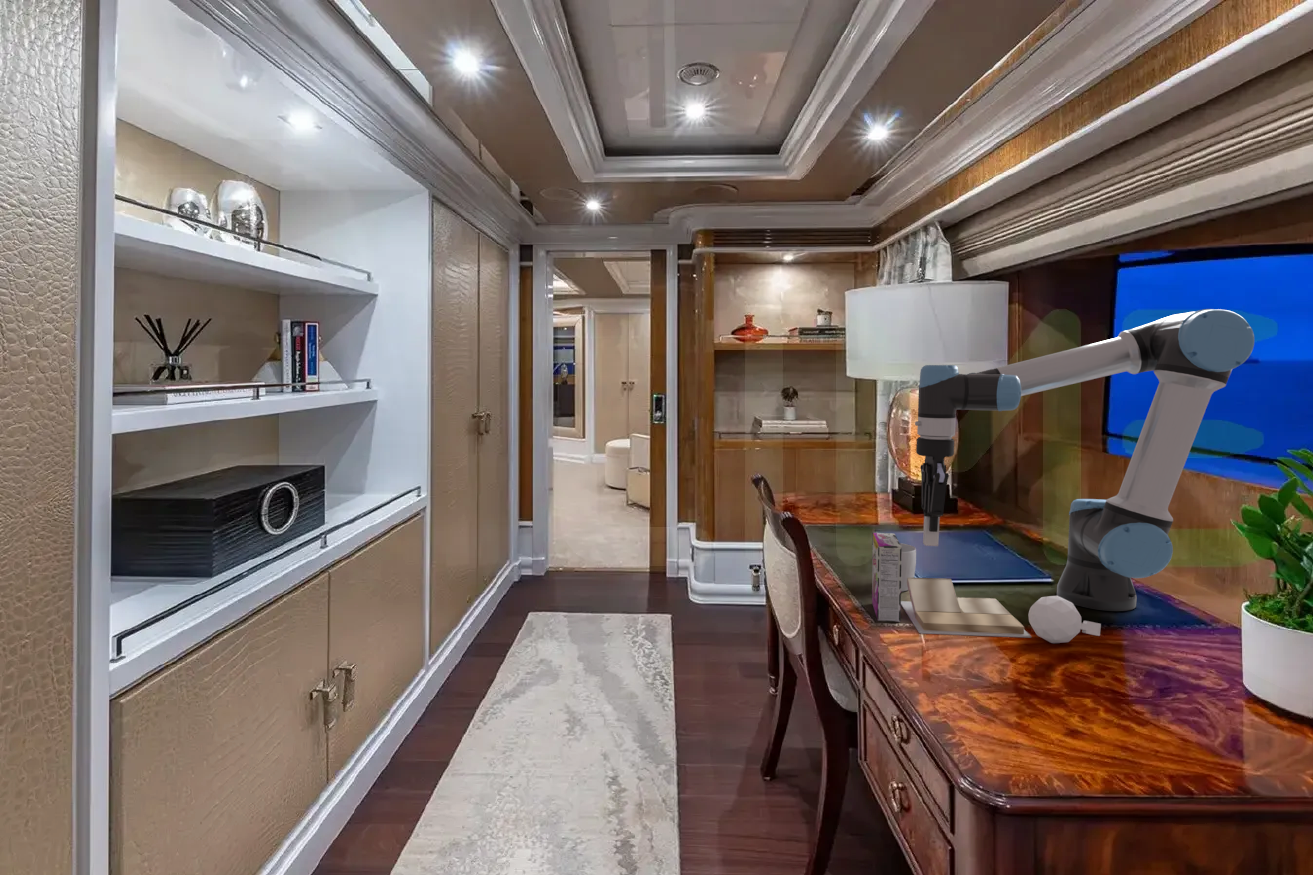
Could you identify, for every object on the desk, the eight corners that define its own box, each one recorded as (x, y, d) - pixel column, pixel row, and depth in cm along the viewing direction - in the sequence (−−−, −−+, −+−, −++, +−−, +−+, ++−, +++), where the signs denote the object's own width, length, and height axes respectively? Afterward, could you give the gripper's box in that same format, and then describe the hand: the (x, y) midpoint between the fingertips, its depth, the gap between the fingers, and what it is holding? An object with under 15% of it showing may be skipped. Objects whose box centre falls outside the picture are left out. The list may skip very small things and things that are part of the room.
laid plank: (1010, 621, 141) (1011, 614, 141) (1023, 633, 135) (1024, 626, 135) (915, 617, 144) (915, 611, 144) (923, 630, 137) (923, 622, 137)
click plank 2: (994, 604, 150) (995, 598, 150) (1010, 620, 142) (1010, 614, 141) (951, 603, 152) (951, 596, 151) (963, 619, 143) (964, 612, 143)
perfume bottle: (1031, 639, 128) (1103, 654, 125) (1036, 590, 130) (1108, 604, 126) (1020, 636, 136) (1088, 650, 133) (1025, 590, 138) (1093, 603, 134)
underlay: (997, 605, 151) (997, 604, 151) (1031, 637, 134) (1031, 636, 134) (899, 602, 154) (899, 601, 154) (919, 633, 136) (919, 631, 136)
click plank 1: (949, 583, 150) (951, 578, 150) (959, 616, 143) (961, 612, 143) (906, 581, 152) (907, 577, 151) (914, 614, 145) (915, 610, 144)
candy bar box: (870, 603, 154) (871, 532, 152) (893, 604, 153) (895, 532, 151) (875, 621, 143) (877, 545, 141) (901, 623, 142) (903, 546, 140)
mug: (909, 596, 158) (910, 554, 157) (870, 589, 163) (871, 548, 162) (923, 581, 169) (924, 542, 167) (886, 575, 174) (887, 537, 173)
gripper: (909, 433, 153) (905, 536, 156) (925, 440, 140) (920, 552, 143) (944, 434, 152) (939, 537, 155) (963, 440, 139) (958, 553, 142)
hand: (930, 544), depth 149 cm, fingers closed
